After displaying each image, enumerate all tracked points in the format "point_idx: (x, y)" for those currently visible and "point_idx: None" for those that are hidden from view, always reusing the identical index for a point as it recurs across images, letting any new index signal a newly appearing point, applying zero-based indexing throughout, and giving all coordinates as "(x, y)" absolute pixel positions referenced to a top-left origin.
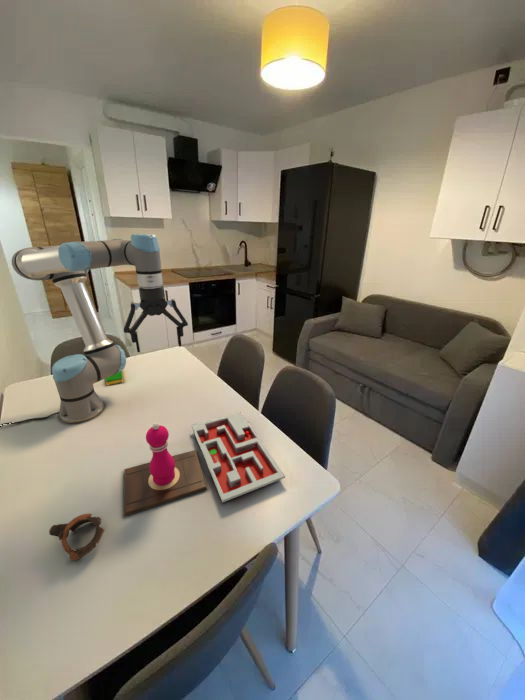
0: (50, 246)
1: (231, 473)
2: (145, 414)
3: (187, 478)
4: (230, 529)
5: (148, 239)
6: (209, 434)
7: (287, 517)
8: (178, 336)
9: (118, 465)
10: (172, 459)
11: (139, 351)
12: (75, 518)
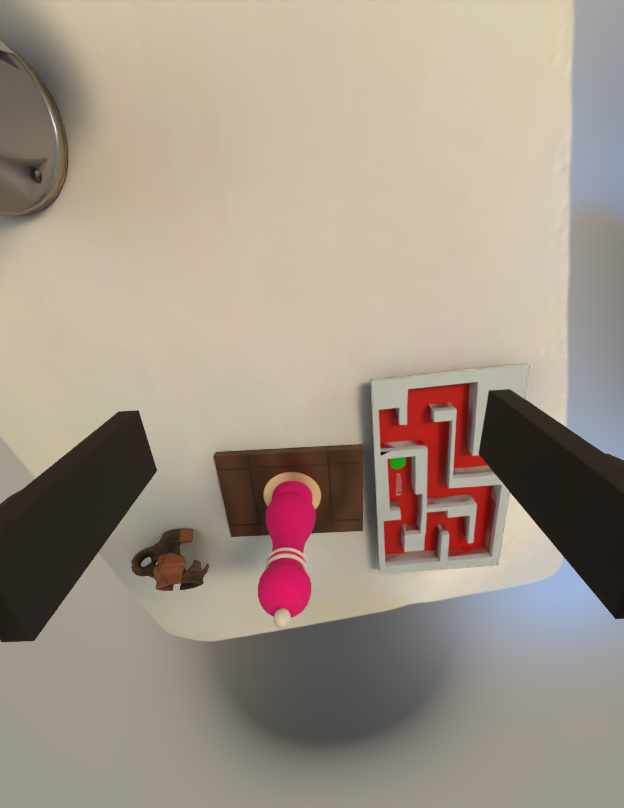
0: None
1: (412, 538)
2: (234, 236)
3: (333, 509)
4: (377, 582)
5: None
6: (407, 406)
7: (457, 589)
8: (541, 524)
9: (197, 431)
10: (311, 530)
11: (151, 475)
12: (162, 570)
